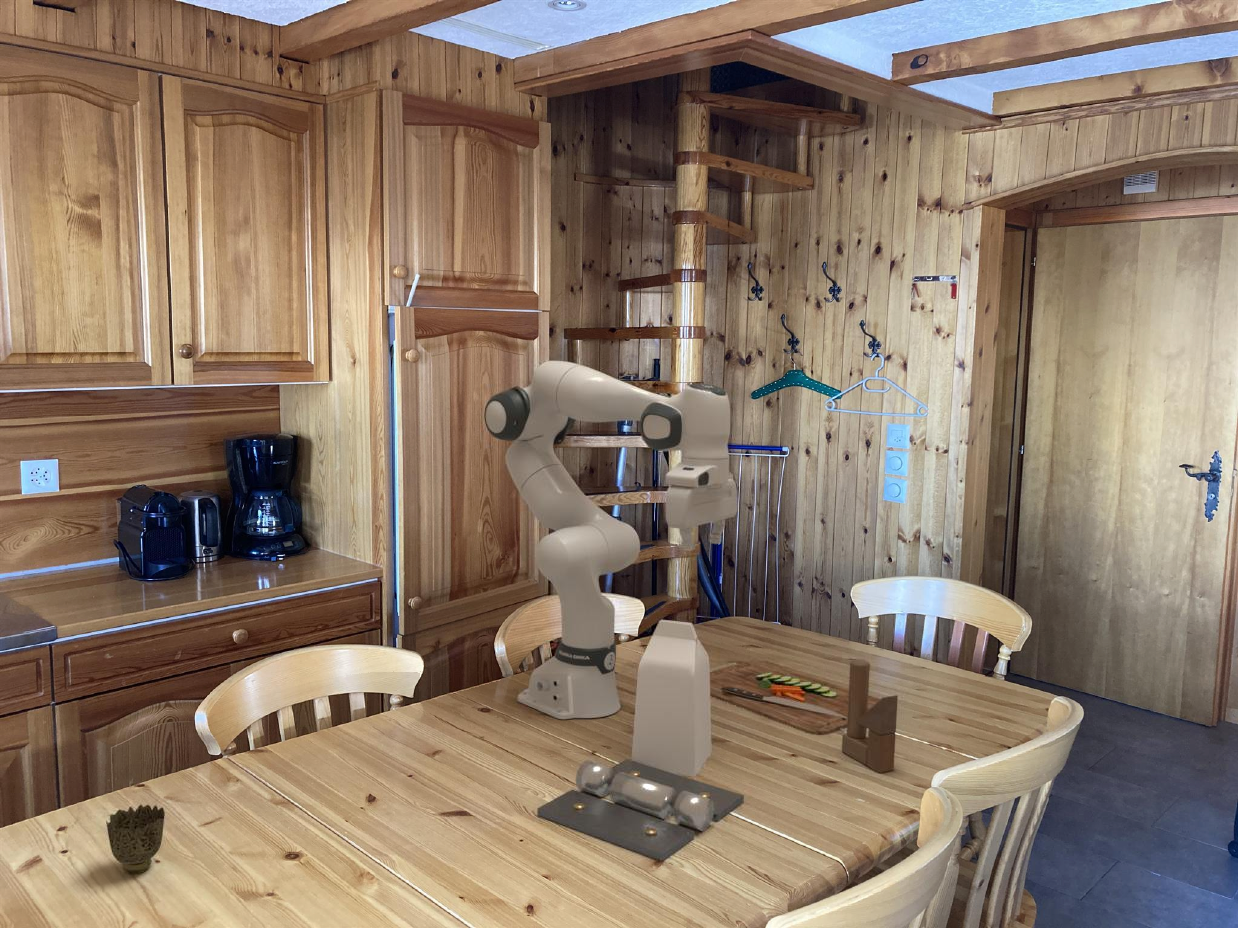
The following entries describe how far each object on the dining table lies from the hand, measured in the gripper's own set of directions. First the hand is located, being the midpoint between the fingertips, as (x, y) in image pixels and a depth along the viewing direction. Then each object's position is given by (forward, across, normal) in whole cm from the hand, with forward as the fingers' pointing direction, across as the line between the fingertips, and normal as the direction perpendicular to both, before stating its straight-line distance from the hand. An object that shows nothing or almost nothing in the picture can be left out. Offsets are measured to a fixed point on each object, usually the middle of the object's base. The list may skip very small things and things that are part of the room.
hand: (702, 546), depth 184 cm
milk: (+39, +7, -1) cm, 40 cm away
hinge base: (+39, +27, +6) cm, 48 cm away
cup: (+39, +87, -40) cm, 103 cm away
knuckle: (+39, +27, +6) cm, 48 cm away
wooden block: (+39, -15, +28) cm, 51 cm away
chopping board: (+40, -38, 0) cm, 55 cm away
